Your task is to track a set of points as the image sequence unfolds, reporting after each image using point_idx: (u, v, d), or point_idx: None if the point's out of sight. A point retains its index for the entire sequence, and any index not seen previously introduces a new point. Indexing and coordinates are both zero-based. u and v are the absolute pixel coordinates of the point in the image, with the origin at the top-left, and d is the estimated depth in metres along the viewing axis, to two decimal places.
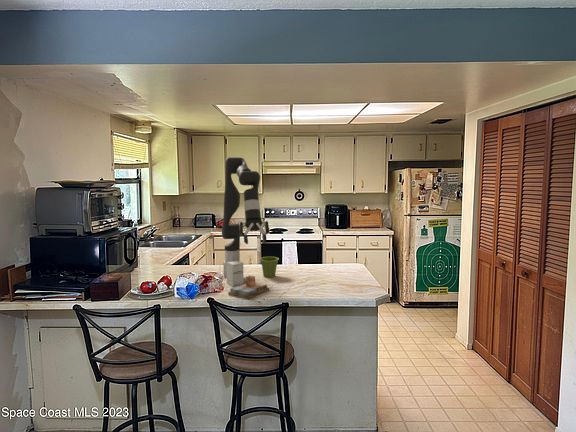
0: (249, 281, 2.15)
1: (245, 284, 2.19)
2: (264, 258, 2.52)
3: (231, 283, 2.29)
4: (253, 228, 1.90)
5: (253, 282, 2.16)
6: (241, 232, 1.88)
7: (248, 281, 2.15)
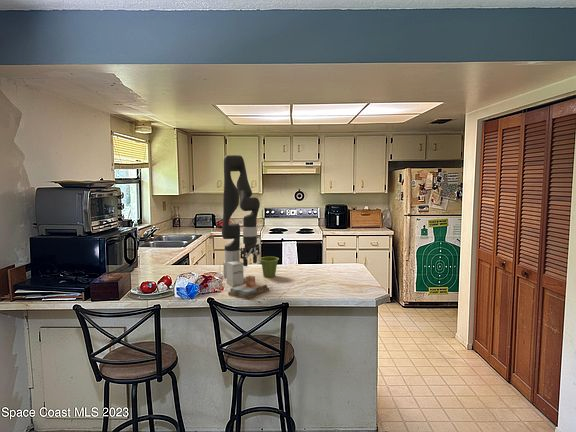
0: (249, 281, 2.15)
1: (245, 284, 2.19)
2: (264, 258, 2.52)
3: (231, 283, 2.29)
4: (251, 252, 2.13)
5: (253, 282, 2.16)
6: (244, 257, 2.08)
7: (248, 281, 2.15)
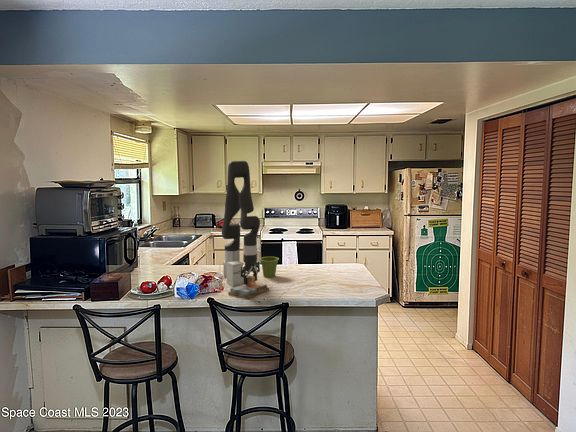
0: (249, 281, 2.15)
1: None
2: (264, 258, 2.52)
3: (231, 283, 2.29)
4: (251, 270, 2.15)
5: (253, 282, 2.16)
6: (244, 275, 2.10)
7: (248, 281, 2.15)
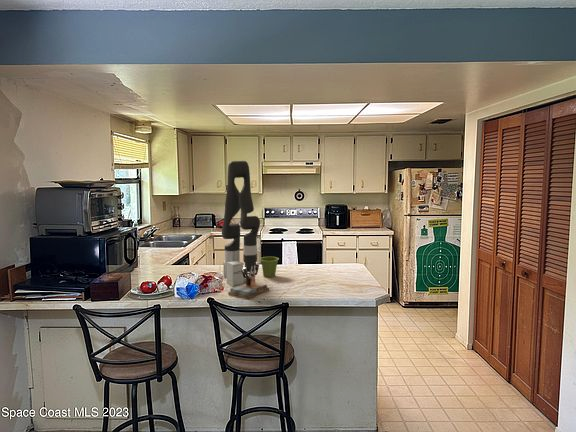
0: None
1: (245, 284, 2.19)
2: (264, 258, 2.52)
3: (231, 283, 2.29)
4: (252, 269, 2.15)
5: (253, 282, 2.16)
6: (247, 276, 2.12)
7: None
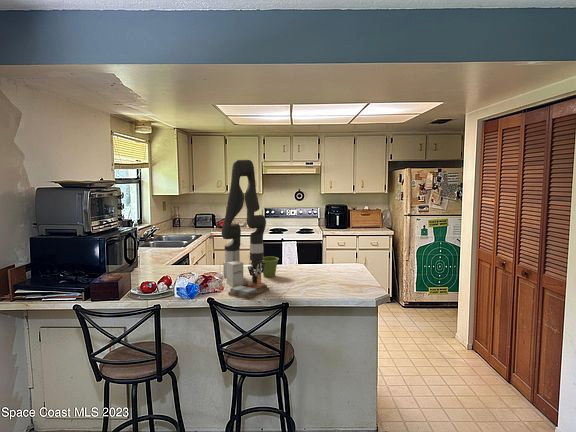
0: None
1: (251, 281, 2.24)
2: (264, 258, 2.52)
3: (231, 283, 2.29)
4: None
5: (260, 280, 2.21)
6: (254, 274, 2.17)
7: None
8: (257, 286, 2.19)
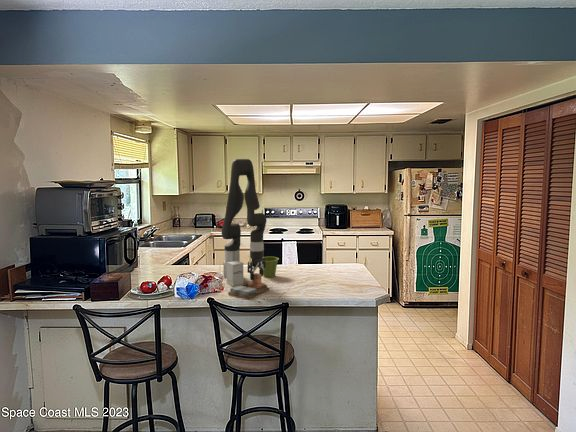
0: (255, 278, 2.20)
1: (251, 281, 2.24)
2: None
3: (231, 283, 2.29)
4: (257, 266, 2.20)
5: (260, 280, 2.21)
6: (251, 271, 2.15)
7: (254, 279, 2.20)
8: (257, 286, 2.19)
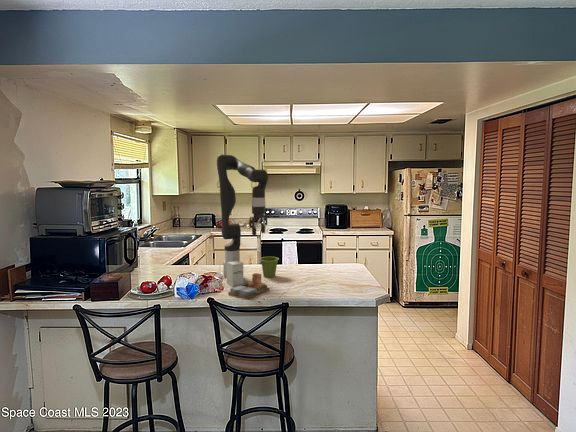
0: (255, 278, 2.20)
1: (251, 281, 2.24)
2: (264, 258, 2.52)
3: (231, 283, 2.29)
4: (259, 221, 2.24)
5: (260, 280, 2.21)
6: (253, 226, 2.19)
7: (254, 279, 2.20)
8: (257, 286, 2.19)
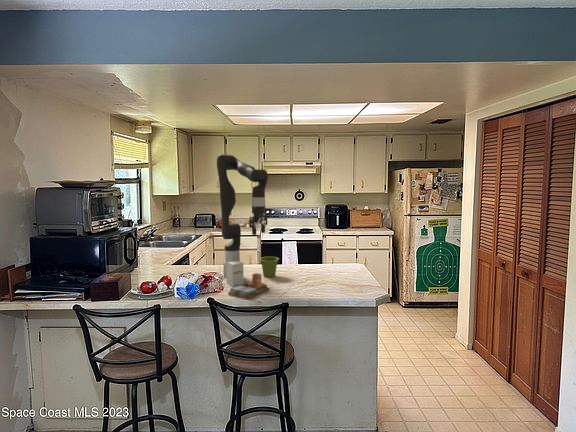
0: (255, 278, 2.20)
1: (251, 281, 2.24)
2: (264, 258, 2.52)
3: (231, 283, 2.29)
4: (259, 221, 2.24)
5: (260, 280, 2.21)
6: (253, 226, 2.19)
7: (254, 279, 2.20)
8: (257, 286, 2.19)
